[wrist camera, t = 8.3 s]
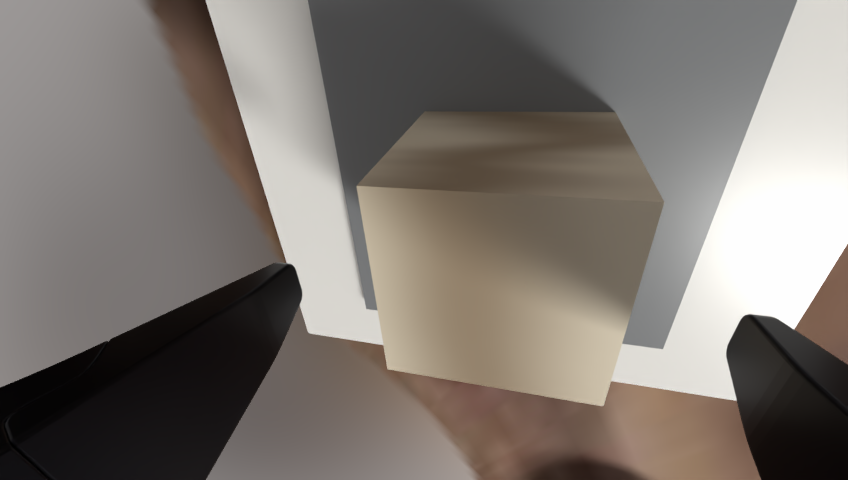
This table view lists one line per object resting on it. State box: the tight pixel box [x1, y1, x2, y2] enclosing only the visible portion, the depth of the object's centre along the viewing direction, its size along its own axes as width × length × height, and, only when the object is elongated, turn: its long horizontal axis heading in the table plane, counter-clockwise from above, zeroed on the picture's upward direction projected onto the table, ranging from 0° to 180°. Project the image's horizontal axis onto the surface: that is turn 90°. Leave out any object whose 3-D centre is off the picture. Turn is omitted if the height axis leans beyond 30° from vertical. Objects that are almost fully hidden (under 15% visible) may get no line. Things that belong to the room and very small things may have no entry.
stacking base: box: [206, 0, 848, 401], centre depth 13 cm, size 18×16×3 cm
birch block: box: [356, 111, 664, 406], centre depth 10 cm, size 5×5×5 cm
